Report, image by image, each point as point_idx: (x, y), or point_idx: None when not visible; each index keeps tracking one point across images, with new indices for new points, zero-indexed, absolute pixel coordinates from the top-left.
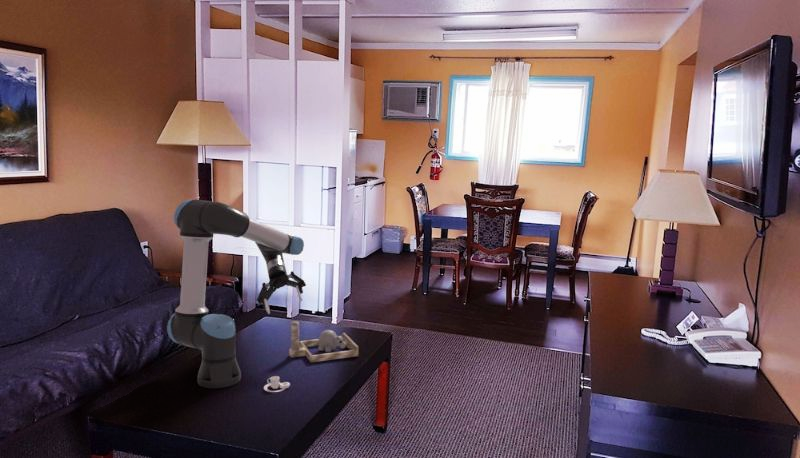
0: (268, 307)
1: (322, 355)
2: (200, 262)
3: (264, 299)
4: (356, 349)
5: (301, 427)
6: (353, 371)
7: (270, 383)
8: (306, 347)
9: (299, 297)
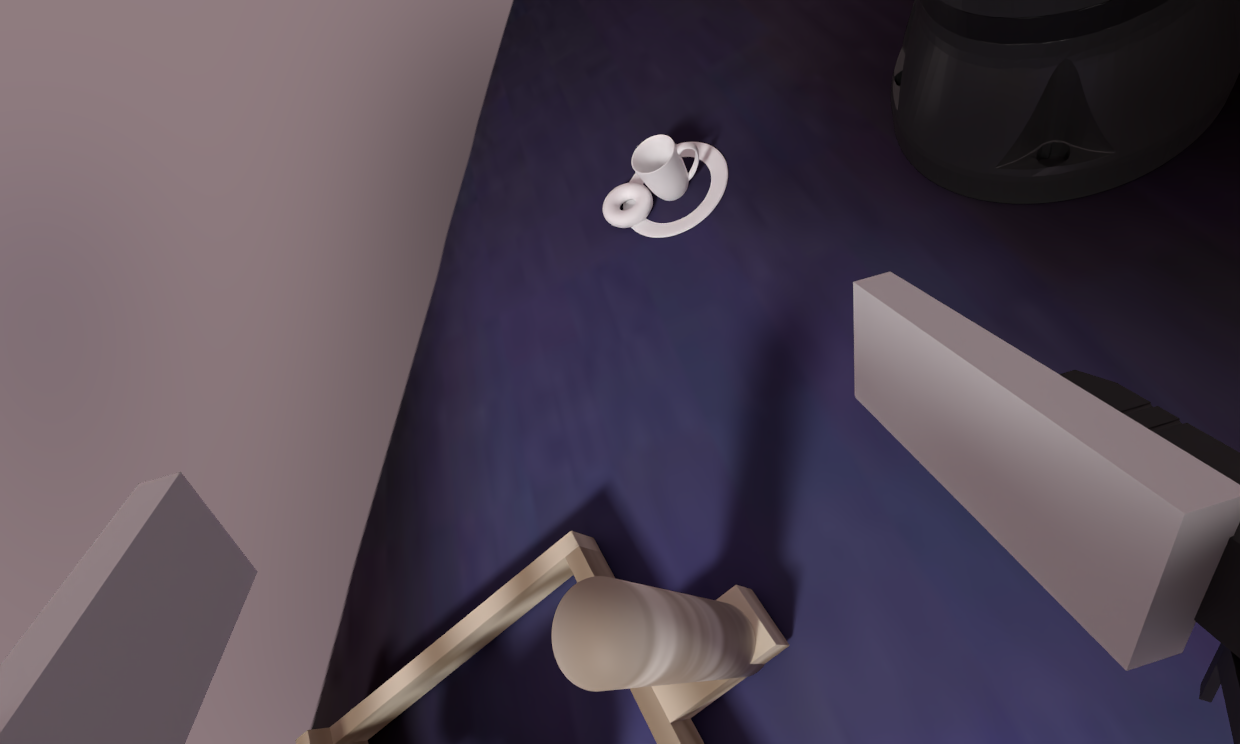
0: (938, 434)
1: (508, 584)
2: None
3: (1201, 476)
4: (322, 729)
5: (499, 46)
6: (380, 498)
7: (711, 203)
8: (648, 723)
9: (186, 499)
